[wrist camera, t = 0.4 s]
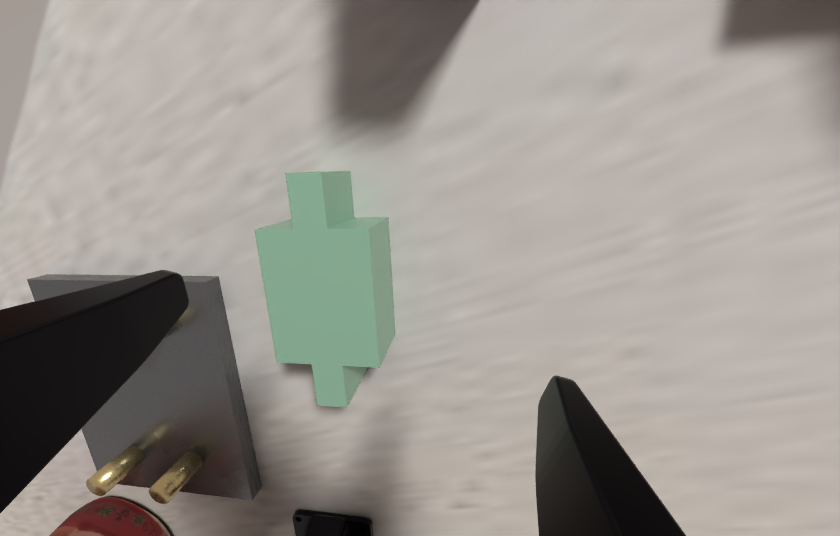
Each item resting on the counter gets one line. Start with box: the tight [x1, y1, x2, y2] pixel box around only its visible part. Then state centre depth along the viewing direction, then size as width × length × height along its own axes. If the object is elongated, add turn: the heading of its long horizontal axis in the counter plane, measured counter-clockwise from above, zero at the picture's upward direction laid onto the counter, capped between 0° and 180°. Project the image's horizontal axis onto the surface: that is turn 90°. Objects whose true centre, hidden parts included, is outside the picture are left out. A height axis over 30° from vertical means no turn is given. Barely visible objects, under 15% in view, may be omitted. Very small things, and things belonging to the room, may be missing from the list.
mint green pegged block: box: [255, 171, 395, 408], centre depth 20 cm, size 6×13×4 cm, turn 2°
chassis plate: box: [27, 275, 261, 504], centre depth 25 cm, size 14×18×4 cm
